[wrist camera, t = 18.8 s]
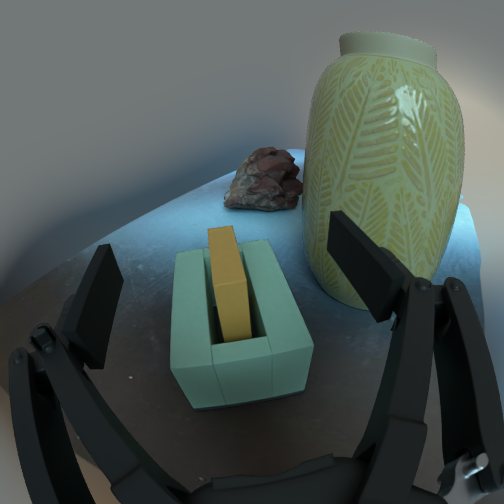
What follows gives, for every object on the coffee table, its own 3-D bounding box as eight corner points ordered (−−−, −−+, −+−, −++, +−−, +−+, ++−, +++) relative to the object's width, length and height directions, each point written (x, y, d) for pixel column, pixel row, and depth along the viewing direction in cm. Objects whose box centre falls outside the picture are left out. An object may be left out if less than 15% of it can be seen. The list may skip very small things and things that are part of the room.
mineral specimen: (248, 217, 57) (318, 204, 49) (213, 224, 45) (298, 207, 38) (237, 164, 55) (304, 145, 48) (200, 159, 44) (280, 131, 37)
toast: (254, 369, 21) (246, 280, 16) (231, 373, 21) (212, 285, 16) (241, 312, 27) (232, 225, 22) (222, 315, 27) (207, 228, 21)
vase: (425, 253, 34) (453, 70, 19) (426, 341, 22) (499, 50, 7) (321, 228, 42) (324, 51, 27) (276, 299, 29) (267, 20, 14)
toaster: (303, 393, 20) (314, 344, 16) (194, 411, 19) (169, 368, 15) (267, 286, 31) (265, 233, 27) (189, 298, 30) (176, 246, 26)
